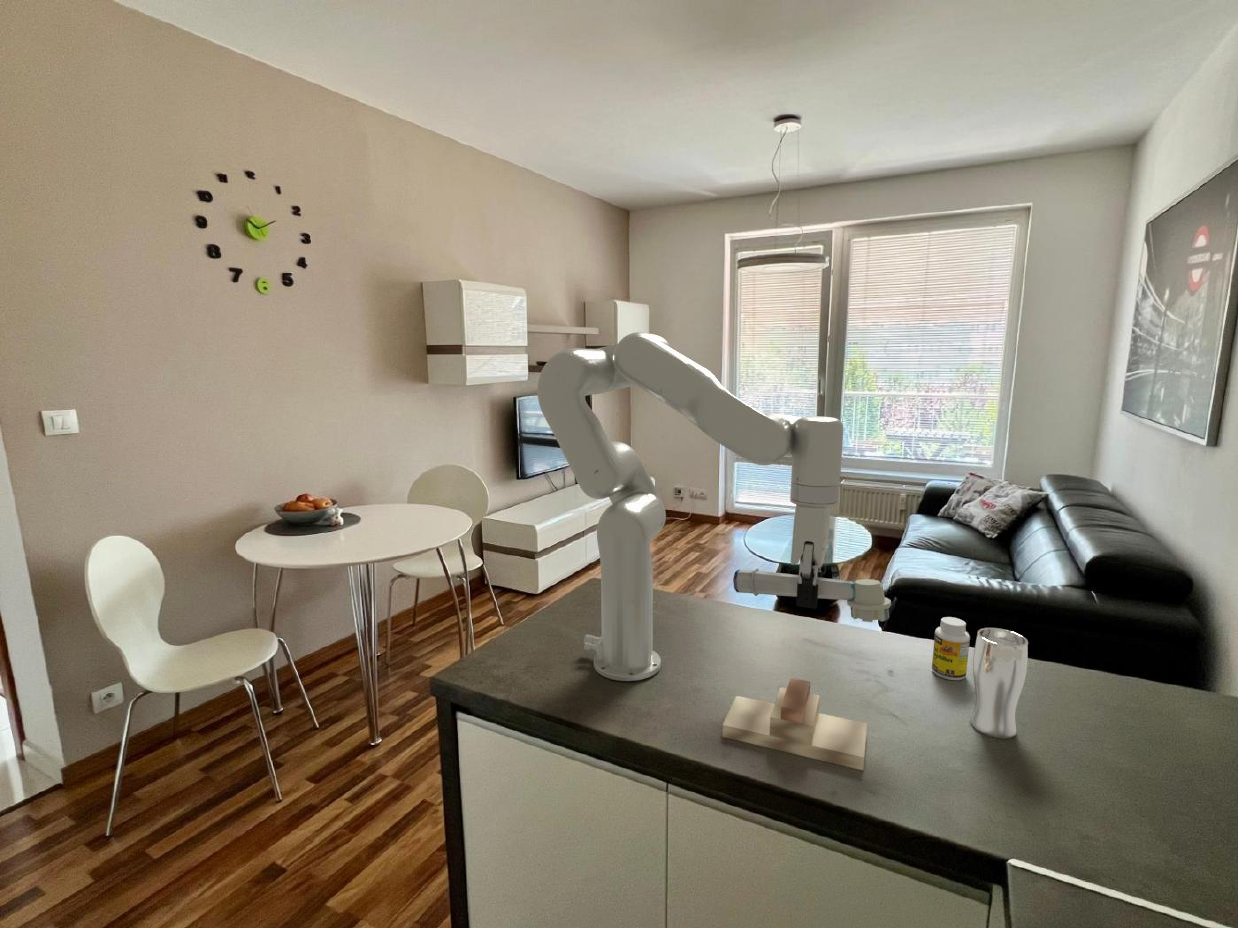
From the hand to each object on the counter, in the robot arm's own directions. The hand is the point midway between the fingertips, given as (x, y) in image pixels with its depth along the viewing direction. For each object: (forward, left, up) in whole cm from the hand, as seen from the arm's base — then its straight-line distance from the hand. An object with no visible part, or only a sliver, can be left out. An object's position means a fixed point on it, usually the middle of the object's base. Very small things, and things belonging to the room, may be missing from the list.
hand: (808, 599), depth 103 cm
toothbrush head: (0, 0, -1) cm, 1 cm away
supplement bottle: (+23, +18, -17) cm, 34 cm away
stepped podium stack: (0, -13, -17) cm, 21 cm away
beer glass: (+28, +2, -17) cm, 33 cm away
